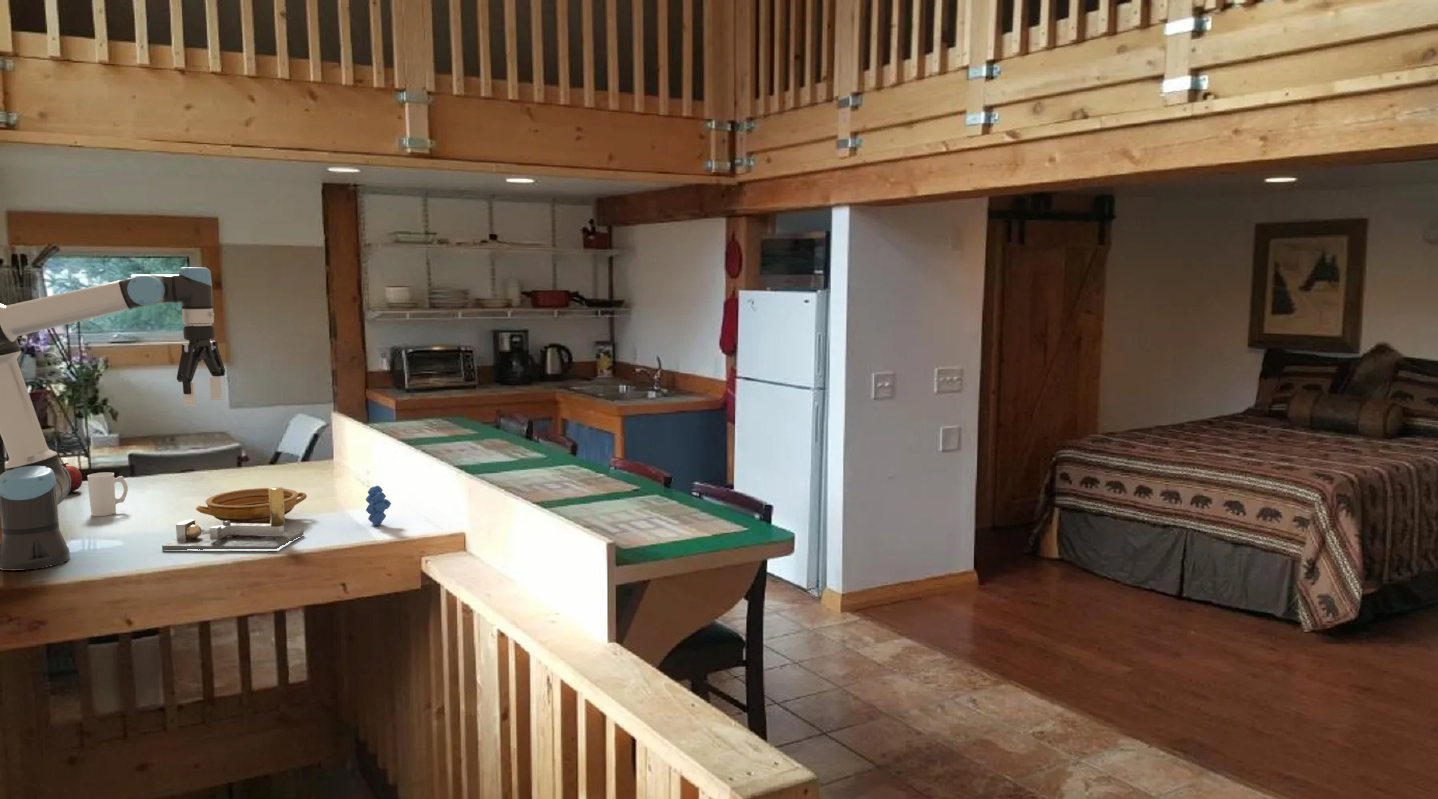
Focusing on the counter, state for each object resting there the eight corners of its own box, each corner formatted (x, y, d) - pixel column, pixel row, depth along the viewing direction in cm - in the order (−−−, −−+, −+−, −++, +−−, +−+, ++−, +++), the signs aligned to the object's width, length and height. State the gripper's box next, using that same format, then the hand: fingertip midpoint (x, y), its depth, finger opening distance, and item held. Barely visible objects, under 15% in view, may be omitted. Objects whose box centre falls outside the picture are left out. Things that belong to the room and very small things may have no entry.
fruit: (66, 497, 317) (63, 467, 316) (38, 496, 319) (36, 465, 318) (92, 490, 328) (89, 460, 327) (65, 489, 329) (63, 459, 328)
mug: (91, 517, 291) (88, 477, 290) (88, 513, 297) (85, 474, 295) (131, 512, 298) (128, 473, 296) (127, 508, 303) (124, 470, 301)
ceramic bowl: (208, 541, 267) (206, 512, 266) (187, 523, 285) (186, 496, 284) (320, 523, 286) (319, 496, 285) (294, 508, 304) (293, 482, 303)
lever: (272, 540, 259) (270, 494, 258) (210, 539, 260) (207, 493, 258) (287, 532, 268) (285, 487, 266) (227, 531, 268) (224, 486, 267)
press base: (277, 552, 257) (275, 531, 256) (162, 551, 257) (161, 530, 256) (303, 535, 272) (302, 516, 272) (195, 535, 273) (194, 515, 272)
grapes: (399, 527, 282) (397, 486, 280) (375, 531, 277) (373, 489, 276) (385, 519, 291) (383, 479, 289) (361, 523, 287) (360, 482, 285)
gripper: (187, 327, 254) (192, 409, 257) (235, 322, 279) (240, 397, 281) (158, 327, 254) (163, 409, 257) (209, 322, 279) (213, 397, 281)
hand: (203, 403), depth 269 cm, fingers open, 13 cm apart
